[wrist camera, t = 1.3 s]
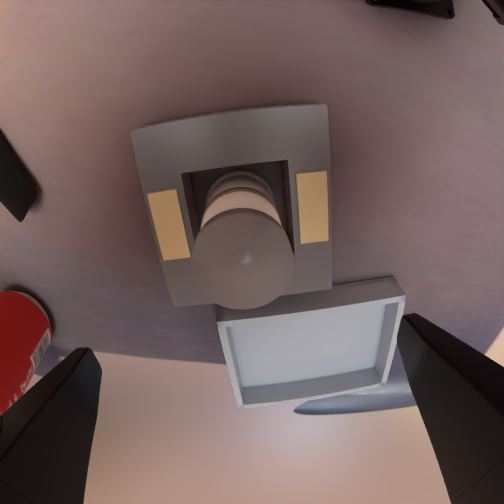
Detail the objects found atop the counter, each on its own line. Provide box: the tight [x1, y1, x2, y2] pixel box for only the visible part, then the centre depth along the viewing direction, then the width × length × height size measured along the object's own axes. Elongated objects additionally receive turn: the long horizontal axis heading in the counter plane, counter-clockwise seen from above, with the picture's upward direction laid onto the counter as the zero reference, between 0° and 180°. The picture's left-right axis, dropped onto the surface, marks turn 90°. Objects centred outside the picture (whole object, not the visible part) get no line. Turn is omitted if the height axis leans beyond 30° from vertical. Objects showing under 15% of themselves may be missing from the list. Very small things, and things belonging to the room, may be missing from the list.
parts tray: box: [216, 276, 406, 409], centre depth 24 cm, size 13×10×2 cm
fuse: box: [191, 168, 295, 310], centre depth 16 cm, size 4×4×8 cm
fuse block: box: [130, 103, 333, 307], centre depth 18 cm, size 10×11×3 cm
